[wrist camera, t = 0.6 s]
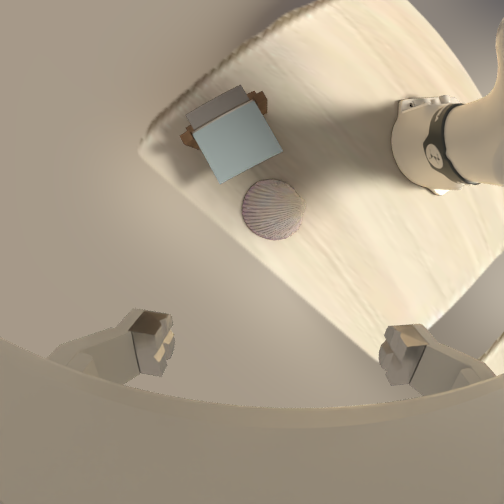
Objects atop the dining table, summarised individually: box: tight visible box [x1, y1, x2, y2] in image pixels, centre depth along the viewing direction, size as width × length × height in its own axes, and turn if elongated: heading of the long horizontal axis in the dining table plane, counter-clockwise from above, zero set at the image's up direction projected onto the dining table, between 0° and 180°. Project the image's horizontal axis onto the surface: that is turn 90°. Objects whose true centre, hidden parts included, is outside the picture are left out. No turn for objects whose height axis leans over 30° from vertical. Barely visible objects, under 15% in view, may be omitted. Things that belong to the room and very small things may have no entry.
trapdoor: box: [186, 85, 283, 184], centre depth 36 cm, size 9×11×5 cm
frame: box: [180, 91, 267, 149], centre depth 36 cm, size 13×4×8 cm, turn 118°
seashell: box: [242, 179, 306, 240], centre depth 43 cm, size 10×6×10 cm
